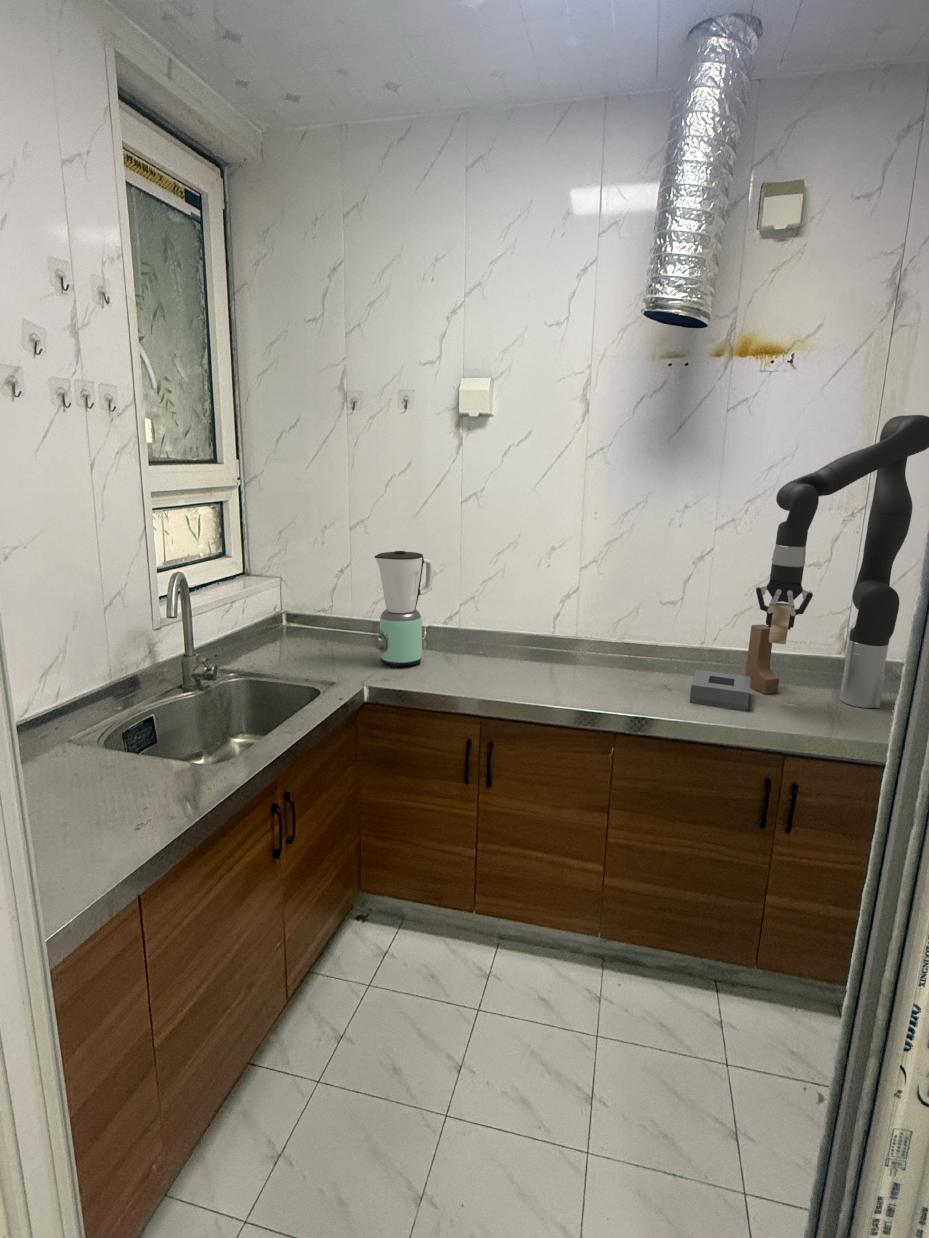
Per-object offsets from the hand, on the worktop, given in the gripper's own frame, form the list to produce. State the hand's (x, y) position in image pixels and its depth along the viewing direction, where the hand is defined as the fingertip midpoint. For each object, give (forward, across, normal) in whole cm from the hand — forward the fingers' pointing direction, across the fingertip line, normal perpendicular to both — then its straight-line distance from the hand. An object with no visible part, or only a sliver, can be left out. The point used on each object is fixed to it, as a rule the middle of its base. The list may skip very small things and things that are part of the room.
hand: (778, 627), depth 178 cm
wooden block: (+22, +2, -13) cm, 25 cm away
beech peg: (+4, 0, 0) cm, 4 cm away
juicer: (+22, +105, +11) cm, 108 cm away
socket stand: (+22, +12, 0) cm, 25 cm away
